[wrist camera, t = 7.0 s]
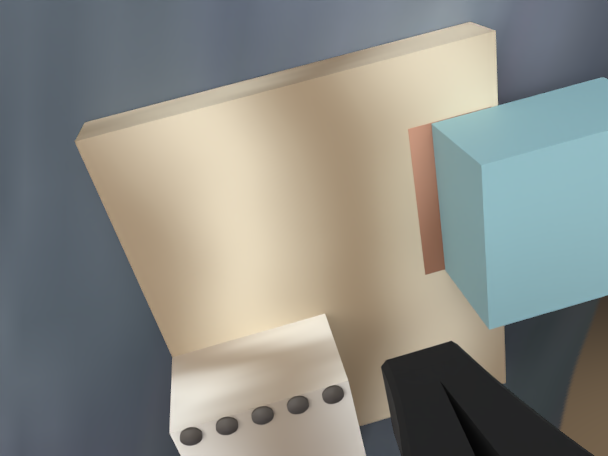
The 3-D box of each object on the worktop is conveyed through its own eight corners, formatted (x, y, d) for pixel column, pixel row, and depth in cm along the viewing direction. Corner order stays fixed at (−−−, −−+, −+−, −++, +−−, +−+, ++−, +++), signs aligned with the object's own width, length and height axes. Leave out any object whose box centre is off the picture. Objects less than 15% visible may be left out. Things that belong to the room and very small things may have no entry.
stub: (445, 270, 18) (488, 329, 15) (431, 123, 15) (481, 165, 12) (591, 228, 18) (660, 280, 15) (602, 77, 15) (686, 108, 13)
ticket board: (220, 434, 22) (227, 550, 18) (84, 122, 15) (47, 195, 11) (487, 355, 22) (552, 450, 18) (470, 21, 16) (566, 56, 12)
